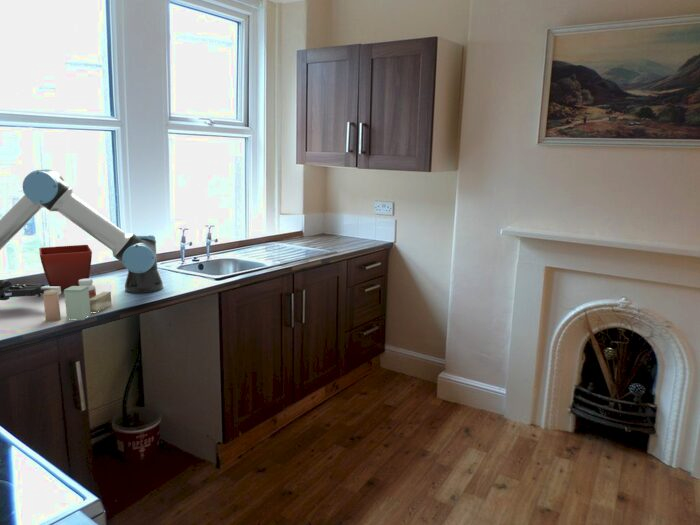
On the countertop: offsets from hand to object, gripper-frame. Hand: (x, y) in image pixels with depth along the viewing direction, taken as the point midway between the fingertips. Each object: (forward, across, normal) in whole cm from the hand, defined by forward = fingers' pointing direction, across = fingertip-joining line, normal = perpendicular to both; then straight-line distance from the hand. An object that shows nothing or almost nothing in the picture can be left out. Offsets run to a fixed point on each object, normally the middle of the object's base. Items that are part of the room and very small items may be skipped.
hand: (59, 290), depth 205 cm
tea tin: (+12, +11, -7) cm, 18 cm away
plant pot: (-13, -32, -7) cm, 35 cm away
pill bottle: (+10, 0, -7) cm, 12 cm away
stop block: (+15, 0, -7) cm, 16 cm away
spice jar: (+4, +13, -7) cm, 16 cm away
